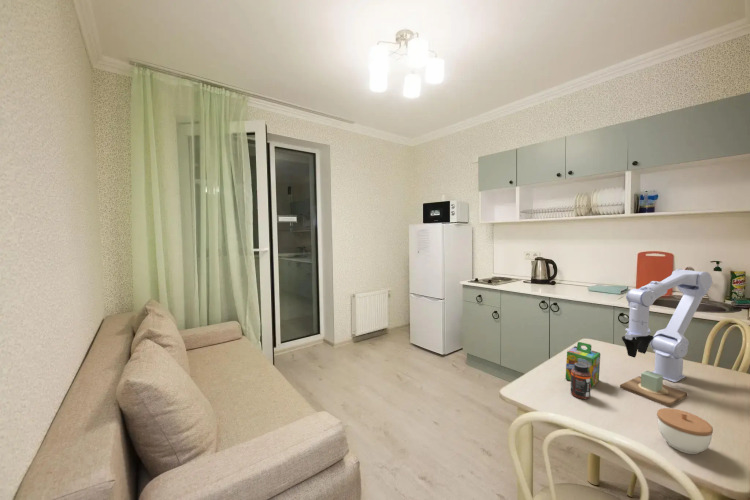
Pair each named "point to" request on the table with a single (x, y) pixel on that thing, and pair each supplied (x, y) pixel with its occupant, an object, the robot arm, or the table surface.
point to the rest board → (663, 396)
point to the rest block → (651, 381)
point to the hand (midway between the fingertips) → (636, 354)
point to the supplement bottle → (580, 381)
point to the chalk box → (583, 361)
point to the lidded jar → (684, 430)
